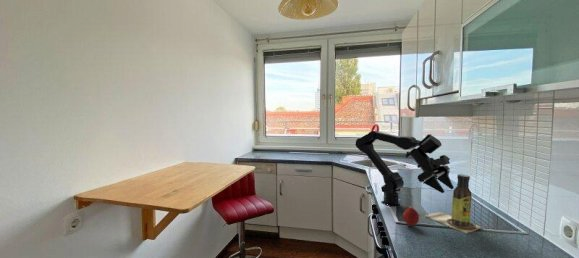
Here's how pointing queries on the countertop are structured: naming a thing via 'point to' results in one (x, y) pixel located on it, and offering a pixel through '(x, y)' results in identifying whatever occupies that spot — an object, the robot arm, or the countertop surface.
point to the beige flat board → (446, 220)
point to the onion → (410, 216)
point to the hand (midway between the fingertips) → (448, 190)
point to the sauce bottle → (461, 201)
